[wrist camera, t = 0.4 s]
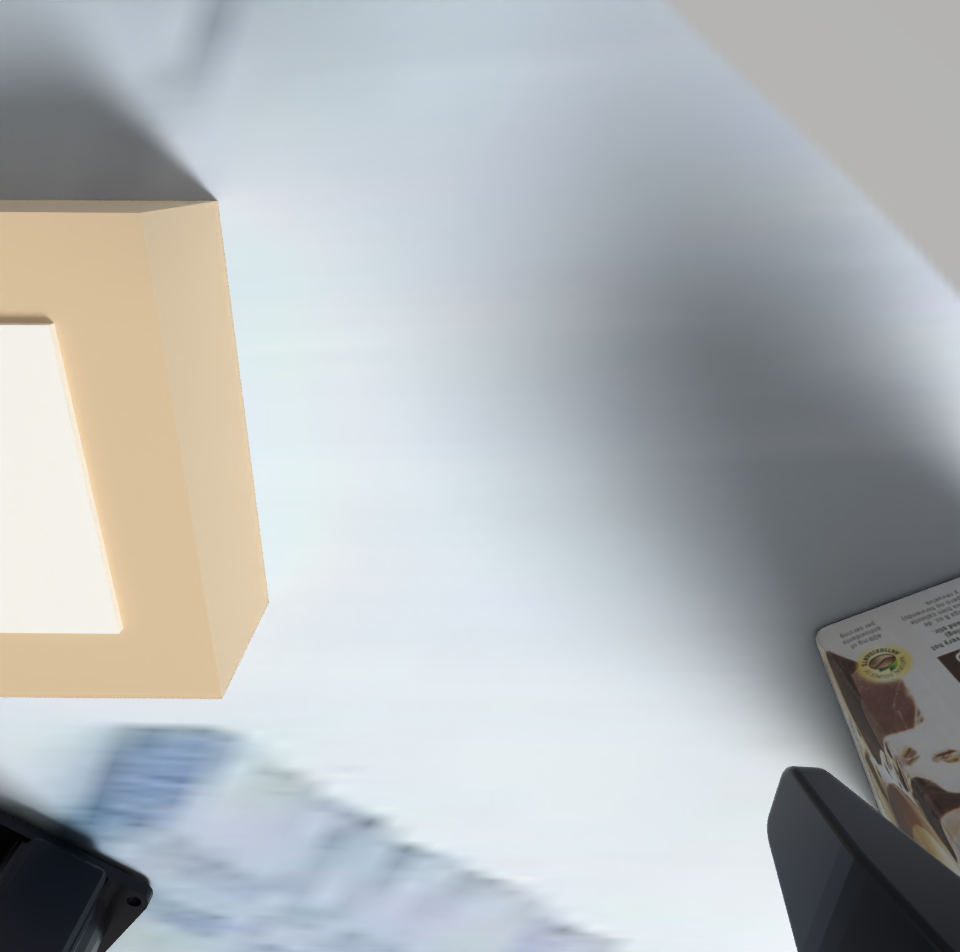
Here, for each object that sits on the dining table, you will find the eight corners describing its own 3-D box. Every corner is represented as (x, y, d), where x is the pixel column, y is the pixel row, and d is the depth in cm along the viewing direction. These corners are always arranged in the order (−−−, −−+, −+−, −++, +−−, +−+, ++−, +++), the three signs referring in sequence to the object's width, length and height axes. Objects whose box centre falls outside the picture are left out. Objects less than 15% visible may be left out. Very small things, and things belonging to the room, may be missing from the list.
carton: (221, 200, 17) (135, 213, 13) (271, 596, 22) (219, 704, 17) (-157, 197, 17) (-370, 210, 13) (-32, 593, 22) (-159, 701, 17)
